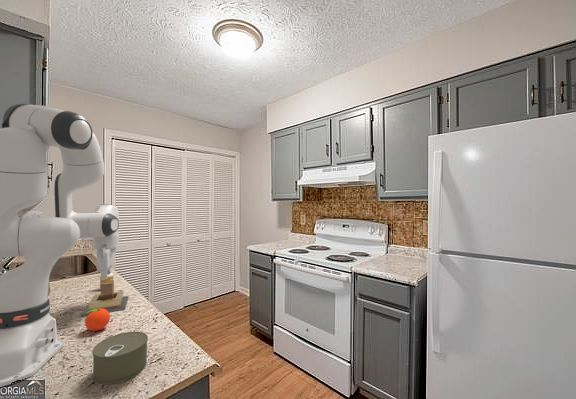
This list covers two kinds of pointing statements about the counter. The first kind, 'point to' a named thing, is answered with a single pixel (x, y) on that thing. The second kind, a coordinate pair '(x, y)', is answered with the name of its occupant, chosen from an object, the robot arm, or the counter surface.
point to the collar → (107, 303)
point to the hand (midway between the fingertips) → (106, 277)
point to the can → (119, 358)
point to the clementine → (97, 319)
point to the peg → (107, 290)
